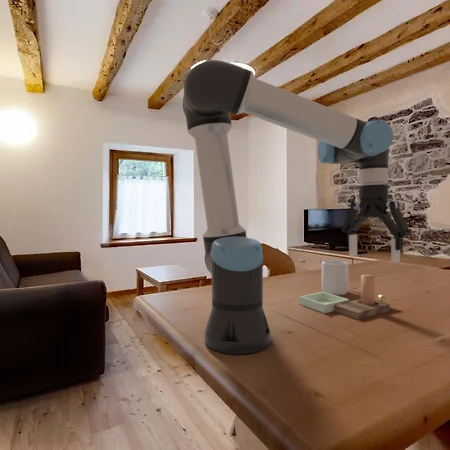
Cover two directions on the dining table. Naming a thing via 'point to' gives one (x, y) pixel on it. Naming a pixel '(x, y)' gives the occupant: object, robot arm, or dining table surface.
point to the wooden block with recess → (361, 309)
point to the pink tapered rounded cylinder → (368, 290)
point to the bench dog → (383, 298)
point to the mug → (334, 277)
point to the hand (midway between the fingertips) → (373, 258)
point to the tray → (321, 301)
